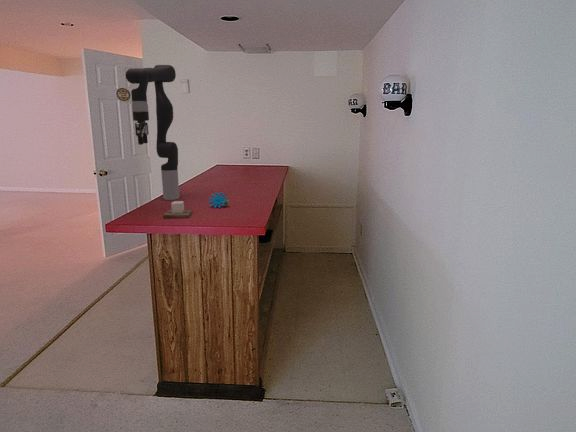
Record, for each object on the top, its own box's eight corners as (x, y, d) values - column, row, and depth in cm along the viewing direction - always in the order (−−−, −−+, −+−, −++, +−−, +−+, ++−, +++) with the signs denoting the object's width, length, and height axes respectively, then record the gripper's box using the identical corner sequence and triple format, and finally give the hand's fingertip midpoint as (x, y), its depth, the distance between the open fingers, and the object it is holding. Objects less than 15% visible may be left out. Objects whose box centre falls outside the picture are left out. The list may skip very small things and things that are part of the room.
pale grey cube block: (174, 211, 205) (173, 201, 204) (184, 211, 205) (183, 201, 204) (171, 213, 200) (171, 203, 199) (182, 213, 200) (181, 203, 199)
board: (168, 212, 208) (168, 203, 207) (192, 212, 209) (192, 203, 208) (163, 218, 197) (162, 208, 195) (188, 217, 197) (188, 208, 196)
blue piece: (205, 205, 218) (212, 190, 222) (208, 210, 223) (214, 196, 227) (225, 209, 216) (231, 193, 220) (227, 214, 221) (233, 199, 225)
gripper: (136, 111, 210) (139, 143, 214) (128, 110, 196) (131, 145, 200) (151, 110, 210) (154, 142, 214) (144, 110, 196) (147, 144, 200)
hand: (143, 143), depth 207 cm, fingers open, 8 cm apart
